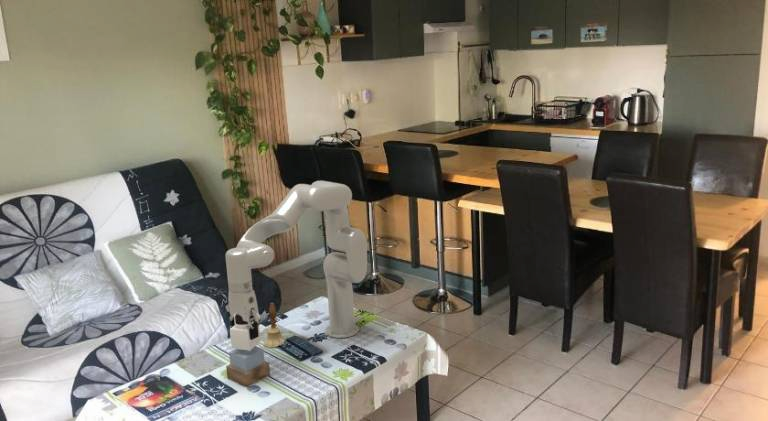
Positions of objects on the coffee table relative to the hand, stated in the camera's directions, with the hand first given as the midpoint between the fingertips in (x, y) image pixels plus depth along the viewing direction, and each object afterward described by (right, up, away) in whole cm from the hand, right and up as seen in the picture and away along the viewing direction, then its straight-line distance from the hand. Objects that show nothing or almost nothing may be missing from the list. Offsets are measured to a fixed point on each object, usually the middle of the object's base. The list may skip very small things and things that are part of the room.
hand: (245, 334), depth 218 cm
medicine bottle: (0, -4, +1) cm, 4 cm away
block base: (0, -15, +4) cm, 16 cm away
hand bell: (+5, -9, +28) cm, 30 cm away
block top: (0, -10, +3) cm, 11 cm away
